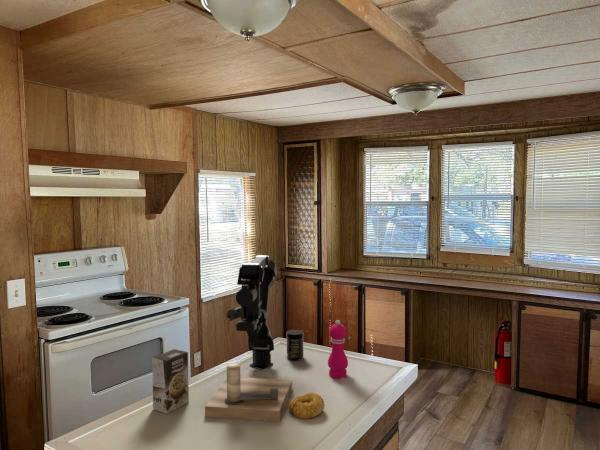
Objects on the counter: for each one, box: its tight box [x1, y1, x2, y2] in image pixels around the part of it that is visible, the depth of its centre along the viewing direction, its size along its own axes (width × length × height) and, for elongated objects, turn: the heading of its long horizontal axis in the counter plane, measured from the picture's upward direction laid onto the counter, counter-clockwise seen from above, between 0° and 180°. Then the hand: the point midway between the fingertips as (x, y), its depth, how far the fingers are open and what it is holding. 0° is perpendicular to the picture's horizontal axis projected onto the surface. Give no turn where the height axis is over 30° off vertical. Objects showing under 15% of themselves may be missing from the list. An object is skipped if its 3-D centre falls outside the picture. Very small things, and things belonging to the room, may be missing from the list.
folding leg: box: [226, 363, 278, 402], centre depth 135 cm, size 4×15×10 cm, turn 97°
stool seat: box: [204, 376, 293, 422], centre depth 141 cm, size 22×22×3 cm
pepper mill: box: [327, 319, 349, 379], centre depth 161 cm, size 7×7×20 cm
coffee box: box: [151, 348, 190, 414], centre depth 138 cm, size 9×6×16 cm
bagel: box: [287, 392, 325, 420], centre depth 135 cm, size 10×11×5 cm
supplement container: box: [285, 329, 304, 362], centre depth 179 cm, size 7×7×10 cm
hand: (252, 344), depth 156 cm, fingers closed
